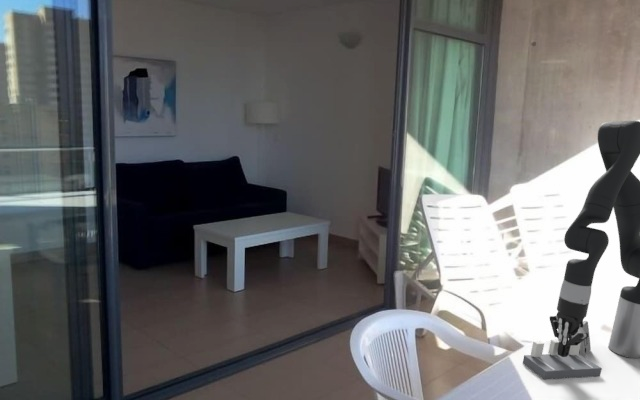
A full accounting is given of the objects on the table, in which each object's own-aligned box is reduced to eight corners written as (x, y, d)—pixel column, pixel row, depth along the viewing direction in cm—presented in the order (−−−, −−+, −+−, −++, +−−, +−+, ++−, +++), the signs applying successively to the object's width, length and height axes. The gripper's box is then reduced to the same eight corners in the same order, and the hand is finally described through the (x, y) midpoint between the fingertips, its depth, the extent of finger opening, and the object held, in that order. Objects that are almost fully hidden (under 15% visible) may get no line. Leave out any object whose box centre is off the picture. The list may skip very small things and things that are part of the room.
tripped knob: (555, 352, 158) (557, 339, 157) (558, 355, 156) (561, 342, 155) (548, 352, 157) (550, 339, 156) (552, 355, 155) (554, 342, 155)
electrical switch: (583, 360, 162) (586, 330, 161) (564, 355, 165) (567, 325, 164) (590, 351, 169) (593, 322, 168) (573, 346, 172) (575, 318, 171)
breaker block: (576, 360, 161) (578, 352, 160) (599, 376, 152) (601, 367, 152) (522, 363, 155) (524, 354, 154) (544, 379, 146) (546, 371, 146)
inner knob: (574, 352, 159) (577, 339, 158) (578, 355, 158) (581, 342, 157) (567, 352, 158) (570, 340, 158) (571, 355, 157) (574, 342, 156)
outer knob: (537, 354, 155) (540, 341, 154) (541, 356, 154) (544, 343, 153) (530, 354, 154) (533, 341, 154) (534, 357, 153) (537, 343, 152)
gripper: (546, 288, 155) (535, 345, 158) (581, 307, 143) (568, 367, 146) (568, 288, 158) (556, 344, 161) (603, 306, 145) (590, 366, 148)
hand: (562, 355), depth 153 cm, fingers closed
